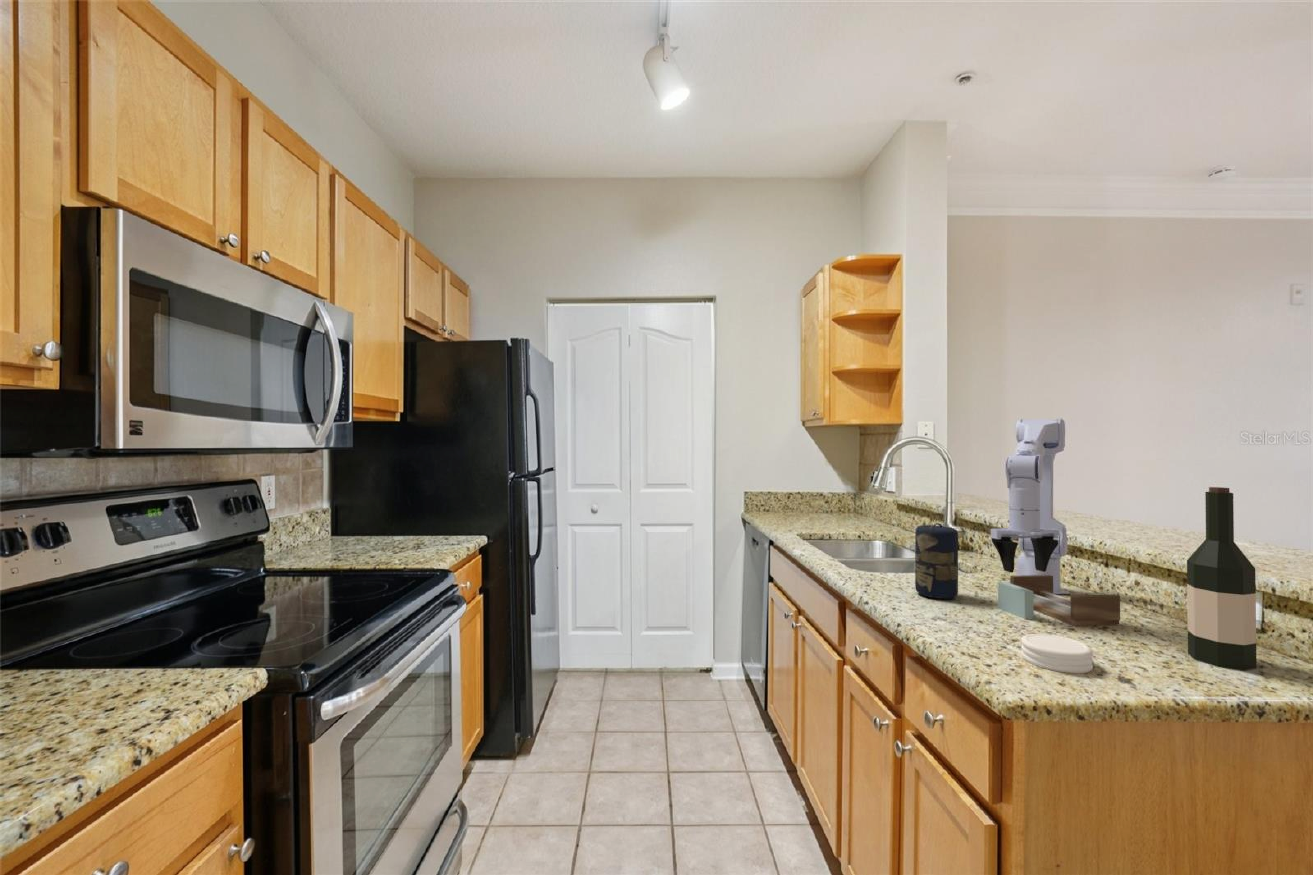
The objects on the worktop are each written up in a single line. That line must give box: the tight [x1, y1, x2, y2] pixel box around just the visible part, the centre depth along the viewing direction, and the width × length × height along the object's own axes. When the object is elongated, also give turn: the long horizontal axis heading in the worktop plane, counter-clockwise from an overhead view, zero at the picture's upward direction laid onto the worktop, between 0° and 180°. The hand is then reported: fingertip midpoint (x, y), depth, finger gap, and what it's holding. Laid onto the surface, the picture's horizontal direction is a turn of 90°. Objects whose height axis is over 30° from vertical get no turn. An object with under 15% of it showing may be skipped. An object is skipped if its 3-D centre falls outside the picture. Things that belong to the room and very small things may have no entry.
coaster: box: [1020, 633, 1094, 674], centre depth 95 cm, size 10×10×4 cm
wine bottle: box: [1186, 486, 1258, 671], centre depth 95 cm, size 8×8×30 cm
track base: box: [1009, 575, 1121, 627], centre depth 123 cm, size 18×10×6 cm, turn 5°
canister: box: [914, 522, 959, 599], centre depth 136 cm, size 10×10×18 cm
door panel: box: [997, 581, 1034, 620], centre depth 122 cm, size 8×2×6 cm, turn 5°
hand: (1024, 571), depth 121 cm, fingers open, 7 cm apart
